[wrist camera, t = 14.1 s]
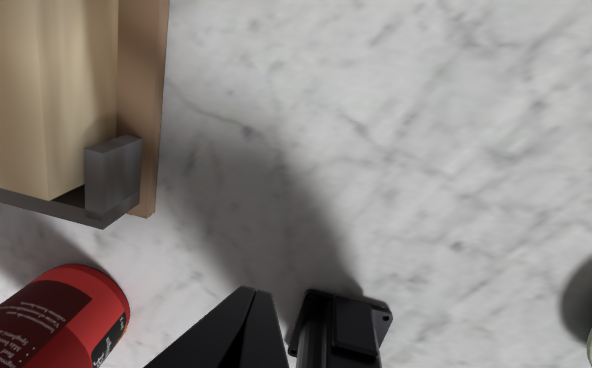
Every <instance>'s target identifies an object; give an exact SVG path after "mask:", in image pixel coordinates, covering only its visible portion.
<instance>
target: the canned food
mask: <svg viewBox="0 0 592 368" xmlns="http://www.w3.org/2000/svg"><path fill="white" fill-rule="evenodd" d="M129 319H130V309H129V304H128V302H127V299H126V297H125V295H124V294H123V292H122V291H121V289H120V288H119V287H118V286H117V285H116V284H115V283H114V282H113V281H112V280H111V279H110V278H109V277H107V276H106V275H104V274H103V273H101V272H99V271H97V270H95V269H93V268H90V267H87V266H84V265H78V264H67V265H63V266H60V267H57V268H54V269H51V270H48V271H47V272H45V273H44V274H42V275H41V276H39V277H38V278H36V279H35V280H34V281H32V282H31V283H29V284H28V285H27V286H25V287H24V288H22V289H21V290H20V291H18V292H17V293H15V294H14V295H13V296H11V297H10V298H8V299H7V300H6V301H4V302H3V303H1V304H0V368H99V367H100V365H101V364H102V363H103V361H104V360H105V359H106V357H107V356H108V355H109V353H110V352H111V351H112V350H113V348H114V347H115V346H116V344H117V343H118V342H119V340H120V339H121V338H122V336H123V335H124V333H125V331H126V328H127V325H128V323H129Z"/></svg>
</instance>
